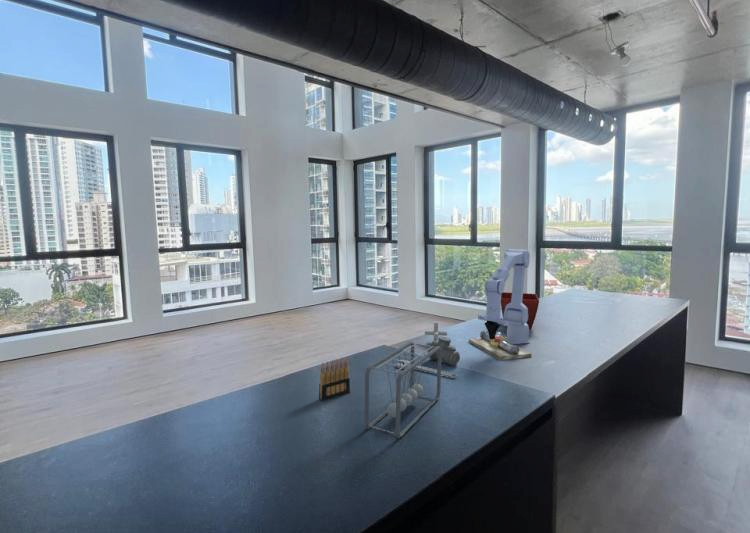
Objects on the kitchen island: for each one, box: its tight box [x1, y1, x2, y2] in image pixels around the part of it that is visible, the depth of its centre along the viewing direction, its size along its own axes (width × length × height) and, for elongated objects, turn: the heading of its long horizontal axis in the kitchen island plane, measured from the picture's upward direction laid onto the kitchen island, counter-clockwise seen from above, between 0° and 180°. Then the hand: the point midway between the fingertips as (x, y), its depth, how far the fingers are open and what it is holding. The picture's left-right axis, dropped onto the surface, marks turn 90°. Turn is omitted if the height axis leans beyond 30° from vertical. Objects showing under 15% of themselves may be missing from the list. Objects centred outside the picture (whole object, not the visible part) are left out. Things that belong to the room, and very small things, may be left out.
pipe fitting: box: [426, 335, 461, 367], centre depth 162 cm, size 12×8×10 cm, turn 42°
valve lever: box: [494, 331, 503, 343], centre depth 175 cm, size 13×2×1 cm, turn 159°
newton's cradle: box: [363, 340, 442, 439], centre depth 118 cm, size 30×10×18 cm, turn 150°
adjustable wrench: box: [395, 359, 458, 379], centre depth 152 cm, size 25×6×2 cm, turn 52°
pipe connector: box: [424, 321, 448, 341], centre depth 187 cm, size 10×10×10 cm
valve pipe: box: [479, 330, 520, 355], centre depth 180 cm, size 4×25×6 cm, turn 16°
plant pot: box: [501, 291, 540, 330], centre depth 220 cm, size 19×19×17 cm
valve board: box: [468, 337, 532, 361], centre depth 180 cm, size 15×26×2 cm, turn 16°
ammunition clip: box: [318, 356, 351, 402], centre depth 130 cm, size 11×2×12 cm, turn 128°
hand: (491, 339), depth 172 cm, fingers closed
